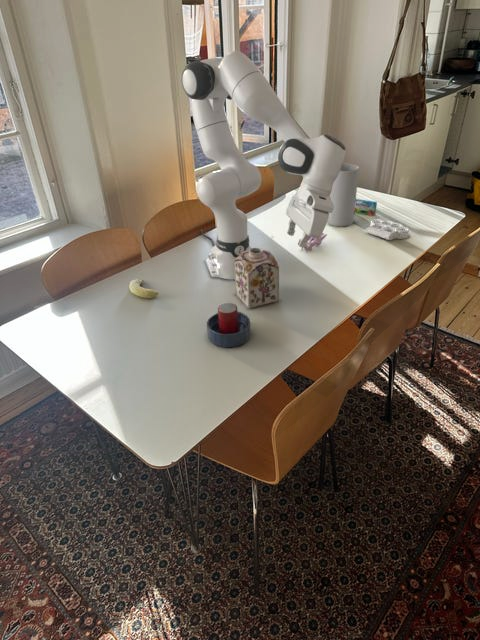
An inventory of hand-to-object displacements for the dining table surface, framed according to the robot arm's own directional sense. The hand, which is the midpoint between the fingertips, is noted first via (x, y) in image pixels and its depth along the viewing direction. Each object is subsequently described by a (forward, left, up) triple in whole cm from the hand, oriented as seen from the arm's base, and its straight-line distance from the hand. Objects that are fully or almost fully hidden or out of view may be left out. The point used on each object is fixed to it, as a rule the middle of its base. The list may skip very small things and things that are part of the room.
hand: (295, 240), depth 137 cm
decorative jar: (-13, -7, -25) cm, 29 cm away
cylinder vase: (-57, +57, -25) cm, 85 cm away
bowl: (+3, -24, -25) cm, 35 cm away
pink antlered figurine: (-40, +33, -25) cm, 58 cm away
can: (+3, -24, -24) cm, 35 cm away
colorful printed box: (-61, +73, -25) cm, 99 cm away
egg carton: (-36, +67, -25) cm, 80 cm away
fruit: (-36, -41, -25) cm, 60 cm away
